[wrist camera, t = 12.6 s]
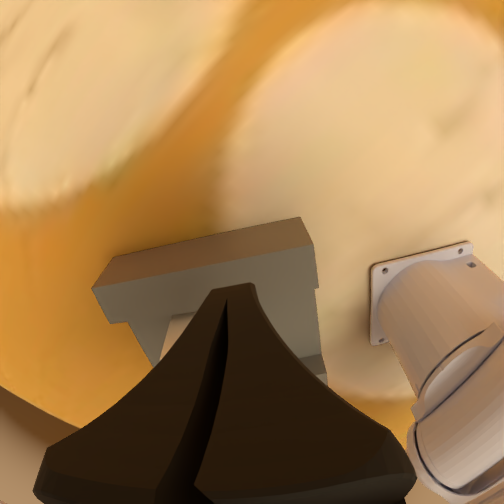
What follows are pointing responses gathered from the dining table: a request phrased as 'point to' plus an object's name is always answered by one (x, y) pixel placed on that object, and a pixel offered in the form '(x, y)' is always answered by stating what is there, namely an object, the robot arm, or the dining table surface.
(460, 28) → the dining table surface
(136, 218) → the dining table surface
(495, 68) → the dining table surface
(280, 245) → the socket
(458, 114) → the dining table surface
